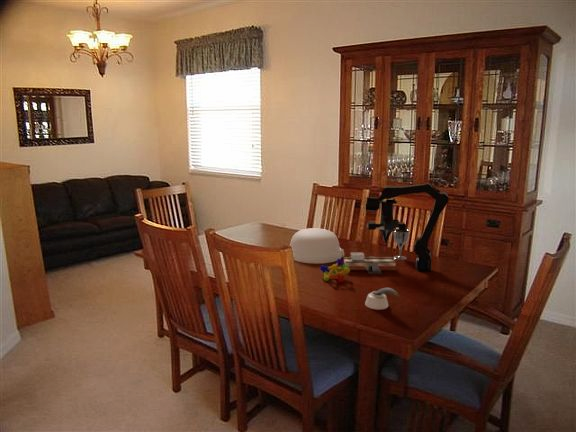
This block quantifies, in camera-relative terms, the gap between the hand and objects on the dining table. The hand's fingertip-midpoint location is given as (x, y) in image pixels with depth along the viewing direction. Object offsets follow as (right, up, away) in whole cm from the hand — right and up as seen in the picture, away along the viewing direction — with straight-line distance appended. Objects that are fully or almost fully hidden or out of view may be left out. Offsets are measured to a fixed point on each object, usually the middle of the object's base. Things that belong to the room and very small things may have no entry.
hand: (385, 242), depth 227 cm
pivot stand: (-7, -13, -4) cm, 16 cm away
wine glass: (+11, -9, +15) cm, 21 cm away
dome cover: (-34, -8, +20) cm, 41 cm away
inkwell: (-11, -23, -50) cm, 56 cm away
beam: (-9, -11, -5) cm, 15 cm away
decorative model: (-27, -16, -18) cm, 36 cm away
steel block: (-15, -9, -5) cm, 18 cm away
